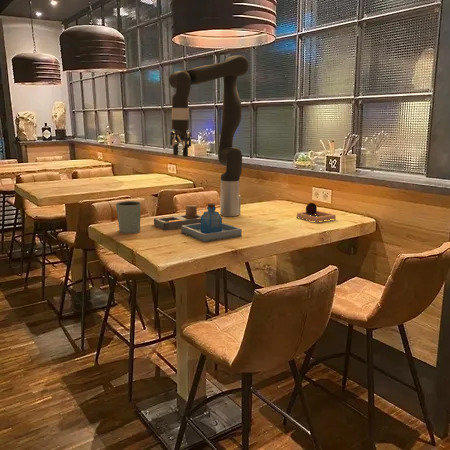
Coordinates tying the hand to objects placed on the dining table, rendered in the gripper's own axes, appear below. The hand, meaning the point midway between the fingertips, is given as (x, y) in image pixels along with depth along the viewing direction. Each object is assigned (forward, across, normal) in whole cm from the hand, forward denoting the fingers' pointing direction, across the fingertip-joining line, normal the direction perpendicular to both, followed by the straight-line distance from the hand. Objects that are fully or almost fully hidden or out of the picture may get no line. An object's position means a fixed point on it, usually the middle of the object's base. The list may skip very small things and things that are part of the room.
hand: (180, 155), depth 208 cm
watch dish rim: (+30, -30, -58) cm, 72 cm away
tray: (+30, -28, +2) cm, 41 cm away
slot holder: (+30, -6, +4) cm, 31 cm away
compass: (+30, -28, -60) cm, 73 cm away
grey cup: (+30, -5, +28) cm, 42 cm away
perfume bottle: (+30, -28, +2) cm, 41 cm away
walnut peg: (+30, -6, -2) cm, 31 cm away
